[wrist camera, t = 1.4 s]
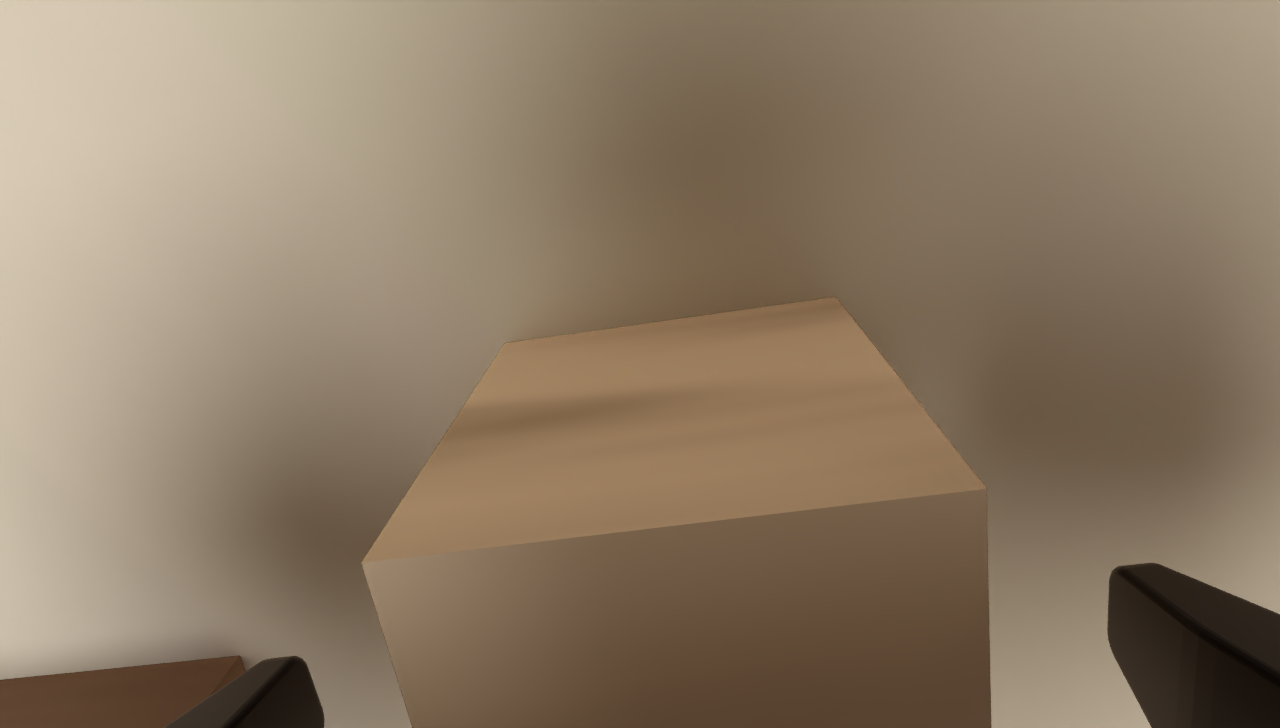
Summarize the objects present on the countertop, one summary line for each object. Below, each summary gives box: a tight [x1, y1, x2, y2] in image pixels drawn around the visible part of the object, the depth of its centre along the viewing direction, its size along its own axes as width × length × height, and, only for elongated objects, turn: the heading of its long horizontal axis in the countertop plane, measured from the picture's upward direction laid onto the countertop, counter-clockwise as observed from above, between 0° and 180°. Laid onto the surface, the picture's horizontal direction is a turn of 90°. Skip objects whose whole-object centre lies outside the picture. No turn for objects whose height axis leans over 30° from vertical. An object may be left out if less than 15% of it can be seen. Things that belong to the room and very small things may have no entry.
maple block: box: [361, 297, 991, 728], centre depth 10 cm, size 5×5×6 cm
